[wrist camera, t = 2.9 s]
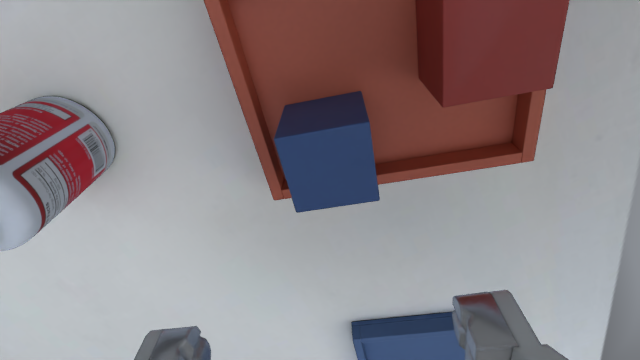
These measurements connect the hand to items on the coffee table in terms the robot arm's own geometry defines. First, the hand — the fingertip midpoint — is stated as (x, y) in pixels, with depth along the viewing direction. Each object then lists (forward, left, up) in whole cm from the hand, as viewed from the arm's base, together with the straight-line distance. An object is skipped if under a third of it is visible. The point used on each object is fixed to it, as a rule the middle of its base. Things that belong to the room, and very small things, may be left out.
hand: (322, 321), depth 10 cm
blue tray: (-6, +29, -14) cm, 33 cm away
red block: (-9, -5, -14) cm, 17 cm away
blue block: (0, 0, -14) cm, 14 cm away
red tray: (-4, -3, -14) cm, 15 cm away
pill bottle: (+18, -3, -15) cm, 23 cm away
